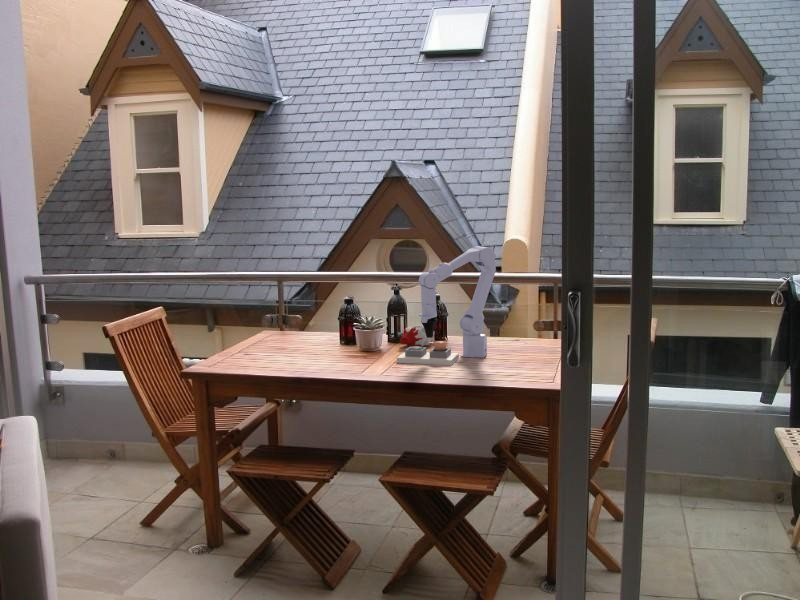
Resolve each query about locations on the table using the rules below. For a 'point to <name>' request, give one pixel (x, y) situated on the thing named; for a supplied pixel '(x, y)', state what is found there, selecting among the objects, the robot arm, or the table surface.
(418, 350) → the grey low dome
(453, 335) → the table surface
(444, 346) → the terracotta button
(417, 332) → the white red irregular piece
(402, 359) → the button panel
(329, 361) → the table surface
